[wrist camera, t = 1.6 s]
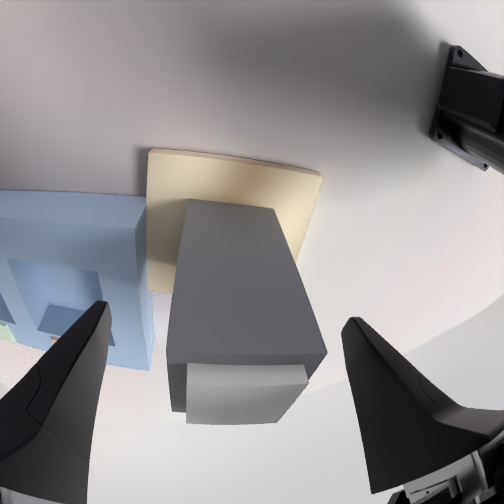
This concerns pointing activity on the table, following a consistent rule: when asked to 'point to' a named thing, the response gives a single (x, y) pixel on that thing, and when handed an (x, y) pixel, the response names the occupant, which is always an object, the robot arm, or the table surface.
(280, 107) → the table surface
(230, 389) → the plug
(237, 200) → the coaster
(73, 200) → the dock
